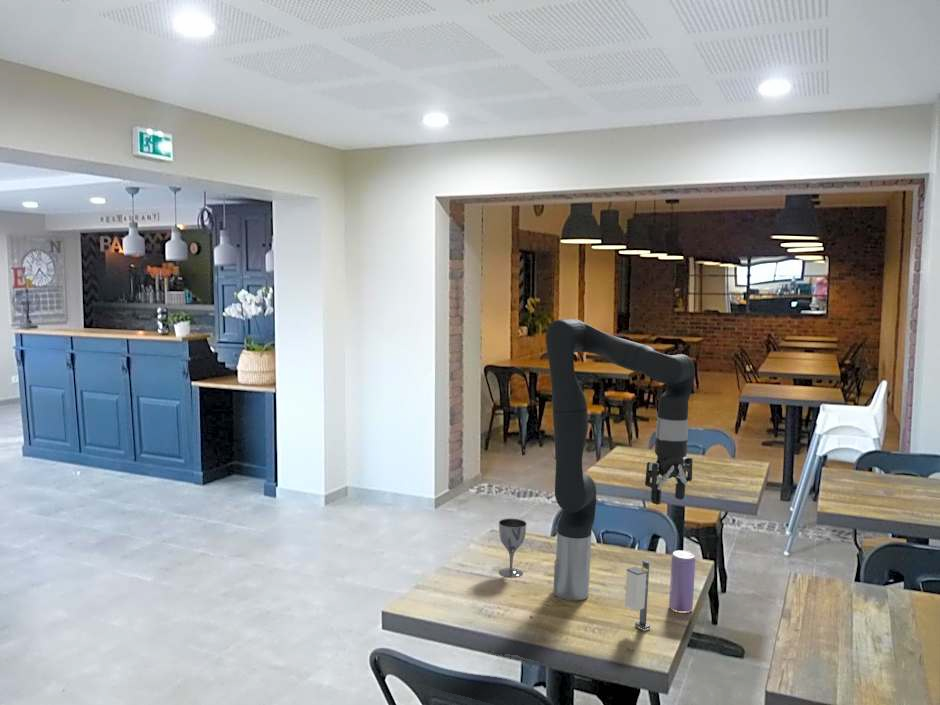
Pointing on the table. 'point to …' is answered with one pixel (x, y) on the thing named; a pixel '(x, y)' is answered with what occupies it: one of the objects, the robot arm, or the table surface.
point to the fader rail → (643, 612)
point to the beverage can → (682, 581)
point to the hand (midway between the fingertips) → (667, 501)
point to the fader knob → (635, 588)
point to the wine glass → (512, 542)
